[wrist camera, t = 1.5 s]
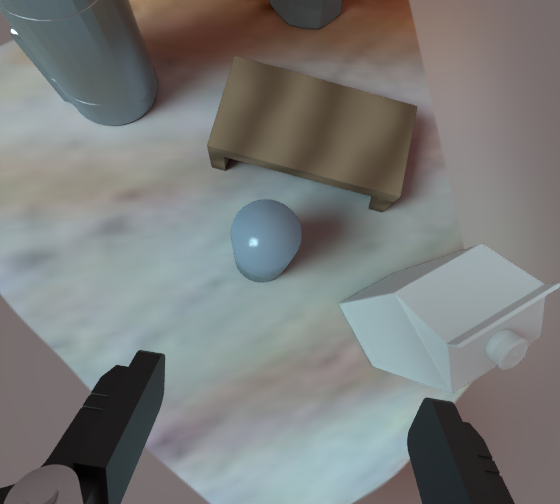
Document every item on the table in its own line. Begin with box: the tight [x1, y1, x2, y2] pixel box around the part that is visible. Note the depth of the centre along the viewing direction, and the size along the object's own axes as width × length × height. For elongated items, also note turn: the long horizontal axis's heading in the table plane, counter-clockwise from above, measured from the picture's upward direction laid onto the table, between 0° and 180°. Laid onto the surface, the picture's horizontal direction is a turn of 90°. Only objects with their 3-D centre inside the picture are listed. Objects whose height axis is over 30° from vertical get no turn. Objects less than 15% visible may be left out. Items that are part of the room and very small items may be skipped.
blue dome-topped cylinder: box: [231, 200, 302, 282], centre depth 34 cm, size 6×6×10 cm
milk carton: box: [339, 244, 560, 393], centre depth 29 cm, size 7×7×19 cm
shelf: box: [207, 56, 417, 212], centre depth 39 cm, size 19×10×5 cm, turn 76°
